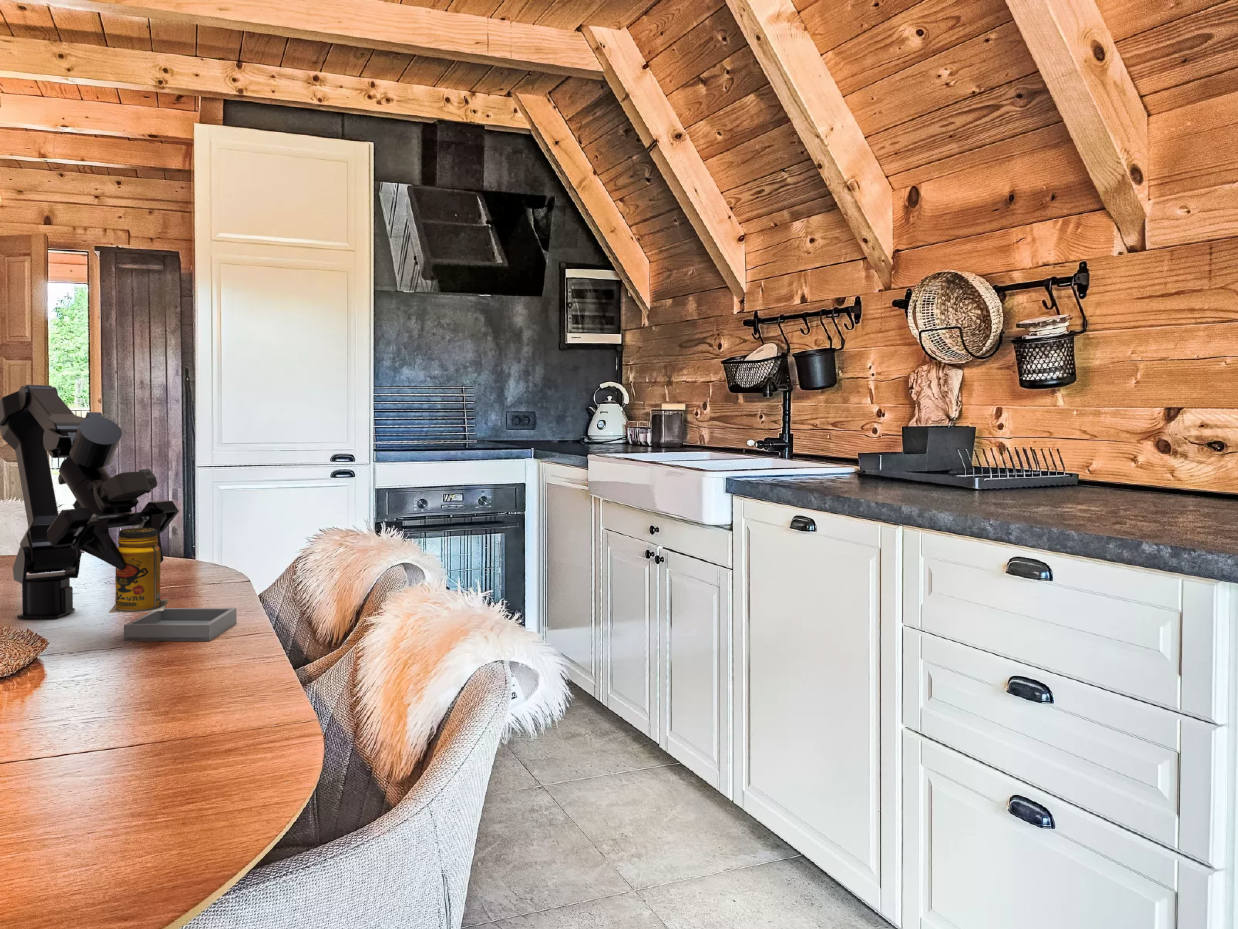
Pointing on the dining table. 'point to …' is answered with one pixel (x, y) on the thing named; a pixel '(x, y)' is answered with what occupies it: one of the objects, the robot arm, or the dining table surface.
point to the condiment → (138, 572)
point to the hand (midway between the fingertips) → (142, 564)
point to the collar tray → (181, 624)
